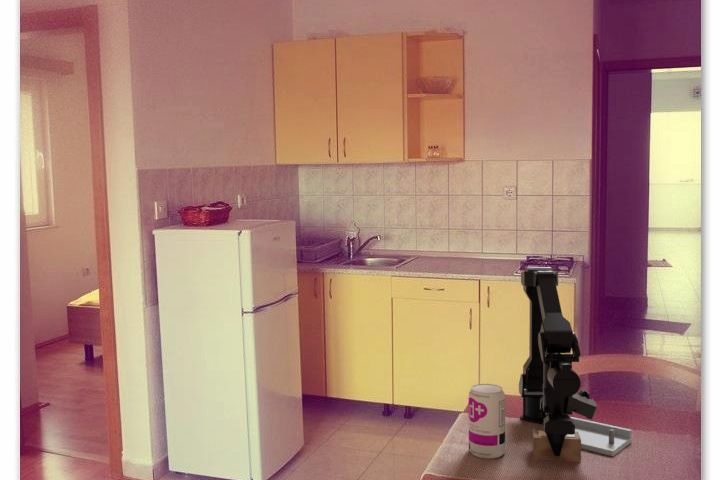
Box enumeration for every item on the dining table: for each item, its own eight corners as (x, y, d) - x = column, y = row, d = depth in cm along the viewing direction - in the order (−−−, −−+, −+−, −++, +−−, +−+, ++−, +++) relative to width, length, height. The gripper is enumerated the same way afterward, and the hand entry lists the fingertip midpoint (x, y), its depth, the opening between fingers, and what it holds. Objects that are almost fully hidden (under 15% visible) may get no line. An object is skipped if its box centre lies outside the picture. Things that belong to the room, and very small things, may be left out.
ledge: (538, 438, 169) (538, 421, 169) (559, 425, 177) (559, 409, 177) (613, 456, 157) (613, 438, 157) (631, 442, 166) (631, 424, 165)
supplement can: (483, 462, 155) (483, 395, 154) (461, 450, 163) (461, 386, 161) (512, 455, 159) (512, 390, 158) (490, 443, 166) (489, 381, 165)
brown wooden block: (534, 459, 157) (534, 436, 156) (532, 450, 162) (532, 428, 161) (580, 461, 155) (581, 438, 155) (577, 453, 160) (578, 430, 159)
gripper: (600, 397, 146) (599, 470, 147) (589, 373, 164) (588, 438, 166) (545, 395, 148) (544, 467, 150) (539, 371, 167) (539, 435, 168)
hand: (556, 451), depth 158 cm, fingers closed on brown wooden block, 5 cm apart
